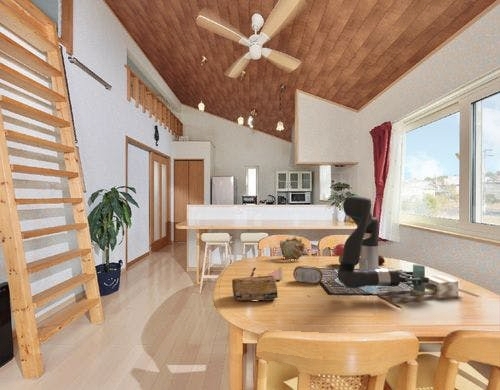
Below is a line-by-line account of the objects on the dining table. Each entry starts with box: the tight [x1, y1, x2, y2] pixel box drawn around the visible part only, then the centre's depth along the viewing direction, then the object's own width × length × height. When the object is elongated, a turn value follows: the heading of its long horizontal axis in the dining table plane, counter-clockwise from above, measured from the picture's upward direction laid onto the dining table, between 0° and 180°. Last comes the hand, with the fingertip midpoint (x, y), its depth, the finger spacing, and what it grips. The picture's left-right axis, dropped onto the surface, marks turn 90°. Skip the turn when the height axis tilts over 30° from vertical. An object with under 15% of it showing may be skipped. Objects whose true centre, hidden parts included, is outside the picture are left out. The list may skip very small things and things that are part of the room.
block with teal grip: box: [409, 263, 437, 296], centre depth 118 cm, size 16×5×13 cm, turn 101°
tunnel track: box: [376, 274, 482, 309], centre depth 117 cm, size 42×13×8 cm, turn 101°
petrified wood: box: [231, 276, 279, 301], centre depth 119 cm, size 19×13×10 cm
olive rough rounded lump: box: [279, 235, 307, 261], centre depth 191 cm, size 18×18×15 cm
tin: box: [293, 265, 323, 285], centre depth 139 cm, size 15×3×8 cm, turn 71°
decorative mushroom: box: [333, 242, 345, 264], centre depth 174 cm, size 13×13×15 cm
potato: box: [378, 254, 385, 266], centre depth 178 cm, size 7×8×6 cm
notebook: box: [268, 266, 283, 281], centre depth 156 cm, size 27×17×2 cm, turn 173°
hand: (421, 277), depth 117 cm, fingers open, 8 cm apart
